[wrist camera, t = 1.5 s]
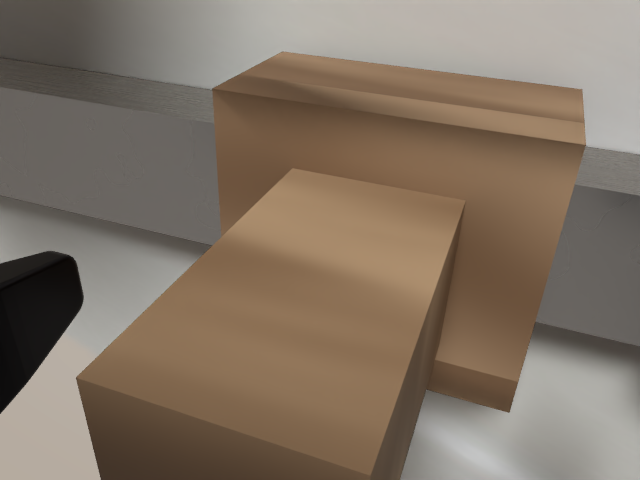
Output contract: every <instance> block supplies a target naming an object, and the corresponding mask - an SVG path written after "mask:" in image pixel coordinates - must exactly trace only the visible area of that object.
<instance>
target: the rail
mask: <svg viewBox="0 0 640 480" xmlns="http://www.w3.org/2000/svg"><path fill="white" fill-rule="evenodd" d="M0 195H1V196H5V197H9V198H14V199H18V200H22V201H26V202H31V203H35V204H39V205H43V206H47V207H52V208H56V209H60V210H64V211H69V212H73V213H77V214H81V215H86V216H90V217H94V218H98V219H102V220H107V221H111V222H115V223H119V224H124V225H128V226H132V227H136V228H141V229H145V230H149V231H153V232H157V233H162V234H166V235H170V236H174V237H179V238H183V239H187V240H191V241H196V242H200V243H204V244H208V245H212V246H213V245H214V244H215V243H216V242H217V241H218V240H219V239H220V238H221V225H220V208H219V192H218V176H217V159H216V143H215V127H214V110H213V94H212V90H209V89H202V88H196V87H189V86H183V85H176V84H169V83H163V82H156V81H150V80H143V79H136V78H130V77H123V76H117V75H110V74H103V73H97V72H90V71H84V70H77V69H70V68H64V67H57V66H51V65H44V64H37V63H31V62H24V61H18V60H11V59H4V58H0ZM535 322H538V323H542V324H547V325H551V326H555V327H559V328H564V329H568V330H572V331H576V332H581V333H585V334H589V335H593V336H597V337H602V338H606V339H610V340H614V341H619V342H623V343H627V344H631V345H636V346H640V155H638V154H631V153H625V152H618V151H611V150H605V149H598V148H592V147H585V150H584V153H583V157H582V160H581V164H580V167H579V171H578V174H577V178H576V181H575V185H574V188H573V192H572V195H571V199H570V202H569V206H568V209H567V213H566V216H565V220H564V223H563V227H562V230H561V234H560V237H559V241H558V244H557V248H556V251H555V255H554V258H553V262H552V265H551V269H550V272H549V276H548V279H547V283H546V286H545V290H544V293H543V297H542V300H541V304H540V307H539V311H538V314H537V318H536V321H535Z"/></svg>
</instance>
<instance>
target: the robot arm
mask: <svg viewBox="0 0 640 480" xmlns="http://www.w3.org/2000/svg"><path fill="white" fill-rule="evenodd" d="M83 298H84V296H83V290H82V286H81V281H80V276H79V272H78V267H77V263H76V261H75V260H74V258H73V257H71V256H69V255H66V254H62V253H59V252H55V251H46V252H42V253H39V254H35V255H31V256H27V257H24V258H20V259H16V260H12V261H8V262H5V263H1V264H0V414H1V412H2V411H3V410H4V409H5V408H6V407H7V406H8V404H9V403H10V402H11V401H12V400H13V399H14V398H15V396H16V395H17V394H18V393H19V392H20V391H21V389H22V388H23V387H24V386H25V385H26V383H27V382H28V381H29V380H30V378H31V377H32V376H33V374H34V373H35V372H36V370H37V369H38V368H39V366H40V365H41V363H42V362H43V361H44V359H45V358H46V357H47V355H48V354H49V352H50V351H51V350H52V348H53V347H54V345H55V344H56V343H57V341H58V340H59V339H60V337H61V336H62V334H63V333H64V332H65V330H66V329H67V327H68V326H69V325H70V323H71V322H72V321H73V319H74V318H75V316H76V315H77V314H78V312H79V311H80V309H81V307H82V304H83Z"/></svg>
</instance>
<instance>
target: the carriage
mask: <svg viewBox="0 0 640 480" xmlns="http://www.w3.org/2000/svg"><path fill="white" fill-rule="evenodd" d="M212 94H213V110H214V127H215V143H216V159H217V176H218V192H219V208H220V225H221V238H220V239H219V240H218V241H217V242H216V243H215V244H214V245H213V246H212V247H211V248H210V249H208V250H207V251H206V252H205V253H204V254H203V255H202V256H201V257H200V258H199V259H198V260H197V261H196V262H195V263H194V264H193V265H192V266H191V267H190V268H189V269H188V270H187V271H186V272H185V273H184V274H183V275H182V276H181V277H180V278H178V279H177V280H176V281H175V282H174V283H173V284H172V285H171V286H170V287H169V288H168V289H167V290H166V291H165V292H164V293H163V294H162V295H161V296H160V297H159V298H158V299H157V300H156V301H155V302H154V303H153V304H152V305H151V306H150V307H148V308H147V309H146V310H145V311H144V312H143V313H142V314H141V315H140V316H139V317H138V318H137V319H136V320H135V321H134V322H133V323H132V324H131V325H130V326H129V327H128V328H127V329H126V330H125V331H124V332H123V333H122V334H121V335H120V336H118V337H117V338H116V339H115V340H114V341H113V342H112V343H111V344H110V345H109V346H108V347H107V348H106V349H105V350H104V351H103V352H102V353H101V354H100V355H99V356H98V357H97V358H96V359H95V360H94V361H93V362H92V363H91V364H90V365H89V366H87V367H86V368H85V369H84V370H83V371H82V372H81V373H80V374H79V375H78V376H77V377H76V380H77V384H78V388H79V392H80V396H81V400H82V404H83V408H84V412H85V416H86V420H87V424H88V429H89V433H90V436H91V441H92V445H93V449H94V453H95V457H96V461H97V465H98V469H99V473H100V477H101V480H400V477H401V474H402V470H403V467H404V463H405V460H406V457H407V453H408V450H409V446H410V443H411V439H412V436H413V433H414V429H415V426H416V422H417V419H418V416H419V412H420V409H421V405H422V402H423V399H424V395H425V392H426V389H427V390H430V391H434V392H438V393H441V394H445V395H448V396H452V397H455V398H459V399H462V400H466V401H469V402H473V403H477V404H480V405H484V406H487V407H491V408H494V409H498V410H501V411H505V412H510V409H511V405H512V402H513V398H514V395H515V391H516V388H517V384H518V381H519V377H520V374H521V370H522V367H523V363H524V360H525V356H526V353H527V349H528V346H529V342H530V339H531V335H532V332H533V328H534V325H535V321H536V318H537V314H538V311H539V307H540V304H541V300H542V297H543V293H544V290H545V286H546V283H547V279H548V276H549V272H550V269H551V265H552V262H553V258H554V255H555V251H556V248H557V244H558V241H559V237H560V234H561V230H562V227H563V223H564V220H565V216H566V213H567V209H568V206H569V202H570V199H571V195H572V192H573V188H574V185H575V181H576V178H577V174H578V171H579V167H580V164H581V160H582V157H583V153H584V150H585V146H586V139H585V124H584V108H583V93H582V89H574V88H567V87H559V86H551V85H543V84H535V83H527V82H519V81H511V80H503V79H495V78H487V77H479V76H471V75H463V74H455V73H447V72H439V71H431V70H424V69H416V68H408V67H400V66H392V65H384V64H376V63H368V62H360V61H352V60H344V59H336V58H328V57H320V56H312V55H304V54H296V53H289V52H281V53H279V54H277V55H275V56H273V57H271V58H269V59H267V60H266V61H264V62H262V63H260V64H258V65H256V66H254V67H252V68H250V69H249V70H247V71H245V72H243V73H241V74H239V75H237V76H235V77H233V78H231V79H230V80H228V81H226V82H224V83H222V84H220V85H218V86H216V87H214V88H212Z"/></svg>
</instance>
